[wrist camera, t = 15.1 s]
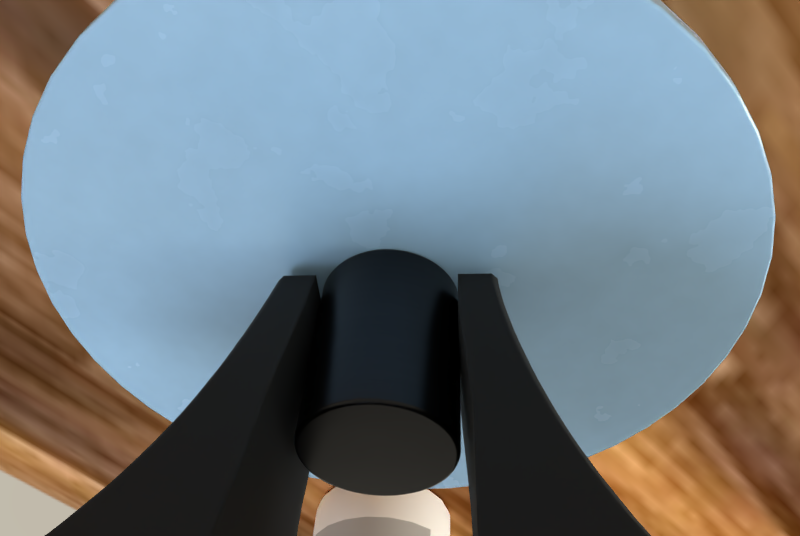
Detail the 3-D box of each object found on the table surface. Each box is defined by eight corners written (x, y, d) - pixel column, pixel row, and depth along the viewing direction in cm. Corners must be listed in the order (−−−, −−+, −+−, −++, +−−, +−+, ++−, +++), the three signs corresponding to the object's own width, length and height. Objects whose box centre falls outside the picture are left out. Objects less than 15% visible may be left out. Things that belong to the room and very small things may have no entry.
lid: (-80, 223, 14) (-240, 404, 11) (439, -384, 8) (429, -392, 5) (377, 505, 21) (363, 673, 17) (869, 299, 14) (996, 503, 11)
